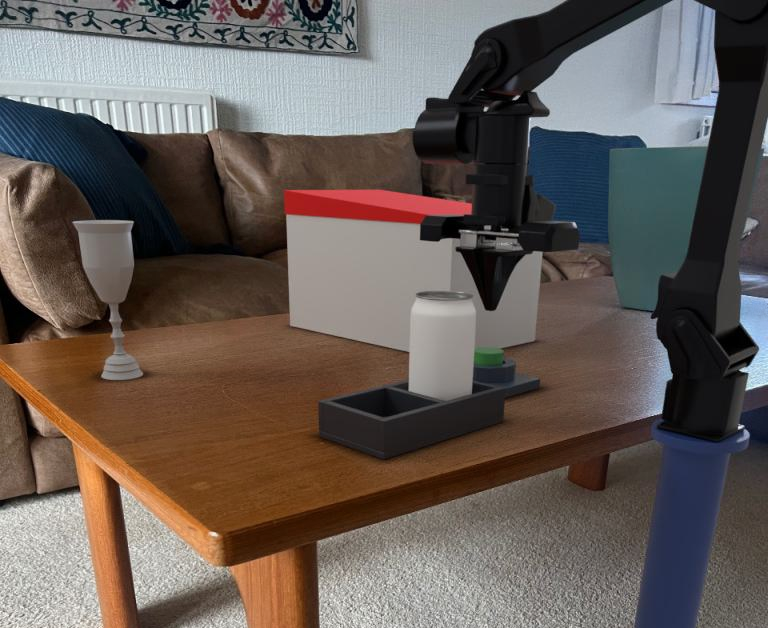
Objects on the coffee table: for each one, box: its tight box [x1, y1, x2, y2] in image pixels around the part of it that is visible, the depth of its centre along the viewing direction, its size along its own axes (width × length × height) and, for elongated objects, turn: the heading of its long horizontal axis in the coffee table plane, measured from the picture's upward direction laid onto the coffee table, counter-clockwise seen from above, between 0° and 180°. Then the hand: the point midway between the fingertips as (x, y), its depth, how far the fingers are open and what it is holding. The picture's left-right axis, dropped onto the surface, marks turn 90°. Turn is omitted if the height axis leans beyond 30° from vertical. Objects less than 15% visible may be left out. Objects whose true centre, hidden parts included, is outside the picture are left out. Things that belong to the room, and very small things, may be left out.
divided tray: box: [317, 379, 506, 460], centre depth 78 cm, size 9×17×4 cm, turn 134°
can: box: [408, 291, 476, 401], centre depth 78 cm, size 6×6×12 cm
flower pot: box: [607, 145, 765, 312], centre depth 146 cm, size 20×20×28 cm
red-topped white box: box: [283, 189, 544, 353], centre depth 121 cm, size 21×35×21 cm, turn 45°
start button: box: [474, 347, 505, 366], centre depth 93 cm, size 4×4×2 cm
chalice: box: [72, 219, 144, 381], centre depth 94 cm, size 7×7×18 cm
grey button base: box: [473, 357, 541, 399], centre depth 94 cm, size 10×8×3 cm
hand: (490, 310), depth 91 cm, fingers closed
